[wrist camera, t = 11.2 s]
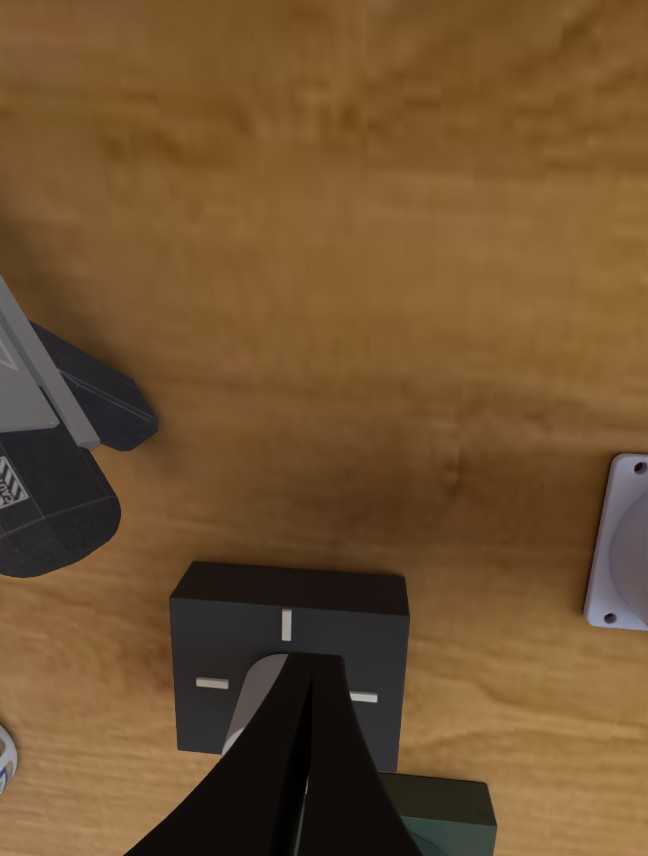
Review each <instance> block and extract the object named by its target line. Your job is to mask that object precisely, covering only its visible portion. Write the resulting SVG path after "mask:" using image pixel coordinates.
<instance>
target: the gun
mask: <svg viewBox="0 0 648 856" xmlns="http://www.w3.org/2000/svg"><path fill="white" fill-rule="evenodd" d="M156 432H158V419H157V418H156V416H155V414H154V413H153V411H152V410H151V408H150V406H149V405H148V403H147V401H146V400H145V398H144V397H143V395H142V393H141V392H140V390H139V388H138V387H137V385H136V384H135V382H134V380H133V379H131V378H129V377H127V376H126V375H124V374H122V373H120V372H119V371H117V370H115V369H113V368H112V367H110V366H108V365H107V364H105V363H103V362H101V361H100V360H98V359H96V358H94V357H93V356H91V355H89V354H87V353H86V352H84V351H82V350H81V349H79V348H77V347H75V346H74V345H72V344H70V343H69V342H67V341H65V340H63V339H62V338H60V337H58V336H57V335H55V334H53V333H52V332H50V331H48V330H46V329H45V328H43V327H41V326H39V325H38V324H36V323H34V322H32V321H30V320H29V319H27V318H26V316H25V315H24V313H23V311H22V310H21V308H20V307H19V305H18V303H17V302H16V300H15V298H14V297H13V295H12V293H11V292H10V290H9V288H8V287H7V285H6V283H5V282H4V280H3V278H2V277H1V275H0V574H3V575H6V576H11V577H18V578H28V577H35V576H40V575H43V574H46V573H49V572H51V571H54V570H57V569H60V568H62V567H65V566H68V565H71V564H73V563H76V562H78V561H80V560H82V559H83V558H85V557H86V556H88V555H89V554H90V553H92V552H93V551H95V550H96V549H98V548H99V547H100V546H102V545H103V544H105V543H106V542H107V541H109V540H110V539H111V538H112V537H113V535H114V534H115V533H116V531H117V529H118V526H119V523H120V518H121V507H120V503H119V500H118V498H117V496H116V494H115V492H114V491H113V489H112V487H111V486H110V484H109V482H108V481H107V479H106V477H105V476H104V474H103V472H102V471H101V469H100V468H99V466H98V464H97V463H96V461H95V459H94V458H93V456H92V454H91V453H90V452H91V451H92V450H93V449H95V448H96V447H98V446H99V445H100V443H101V444H104V445H106V446H108V447H111V448H113V449H116V450H118V451H131V450H132V449H134V448H135V447H137V446H138V445H139V444H141V443H142V442H144V441H145V440H146V439H148V438H149V437H151V436H152V435H153V434H155V433H156Z"/></svg>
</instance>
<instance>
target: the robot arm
mask: <svg viewBox="0 0 648 856" xmlns="http://www.w3.org/2000/svg"><path fill="white" fill-rule="evenodd" d="M640 462H642V464H643V466H642V468H641V469H640V470H638V471H634V467H635V465H636V464H638V463H640ZM610 613H612V615H611V616H610V617H609V618H604V617H605V615H607V614H610ZM583 615H584V617H585V619H586V621H587V622H588V623H589V624H590V625H591V626H595V627H606V628H618V629H631V630H644V631H648V454H629V453H625V454H620V455H618V456H616V457H615V458H614V459H613V461H612V464H611V468H610V473H609V479H608V484H607V489H606V495H605V500H604V505H603V510H602V516H601V521H600V526H599V532H598V537H597V542H596V548H595V553H594V558H593V564H592V569H591V574H590V579H589V585H588V590H587V595H586V601H585V606H584V611H583ZM307 782H308V785H307ZM306 788H307V792H306ZM305 793H306V799H305V807H304V814H303V821H302V828H301V835H300V842H299V848H298V855H297V856H423V854H422V852H421V851H420V849H419V847H418V846H417V844H416V842H415V841H414V839H413V837H412V836H411V834H410V832H409V831H408V829H407V827H406V826H405V824H404V822H403V820H402V819H401V817H400V815H399V813H398V811H397V809H396V807H395V805H394V803H393V802H392V800H391V798H390V796H389V794H388V792H387V790H386V788H385V786H384V783H383V781H382V779H381V777H380V775H379V773H378V771H377V768H376V766H375V764H374V761H373V759H372V757H371V754H370V752H369V749H368V747H367V744H366V742H365V739H364V736H363V733H362V731H361V728H360V725H359V722H358V719H357V716H356V713H355V710H354V706H353V703H352V699H351V696H350V691H349V687H348V683H347V678H346V671H345V659H344V658H343V657H342V656H341V655H333V654H319V653H304V652H291V653H290V654H289V655H288V656H287V658H286V660H285V662H284V665H283V667H282V669H281V671H280V673H279V674H278V676H277V678H276V680H275V682H274V683H273V685H272V687H271V689H270V690H269V692H268V694H267V695H266V697H265V698H264V700H263V701H262V703H261V705H260V706H259V708H258V709H257V711H256V712H255V714H254V715H253V717H252V718H251V720H250V721H249V723H248V724H247V725H246V727H245V728H244V729H243V731H242V732H241V734H240V735H239V736H238V738H237V739H236V740H235V742H234V743H233V744H232V746H231V747H230V748H229V750H228V751H227V752H226V753H225V755H224V756H223V757H222V758H221V759H220V761H219V762H218V763H217V764H216V765H215V767H214V768H213V769H212V770H211V771H210V772H209V774H208V775H207V776H206V777H205V778H204V779H203V780H202V781H201V782H200V784H199V785H198V786H197V787H196V788H195V789H194V790H193V791H192V792H191V793H190V794H189V795H188V796H187V797H186V798H185V799H184V800H183V801H182V803H180V804H179V805H178V806H177V807H176V808H175V809H174V810H173V811H172V812H171V813H170V814H169V815H168V816H167V817H166V818H165V819H164V820H163V821H162V822H161V823H159V824H158V825H157V826H156V827H155V828H154V829H153V830H152V831H151V832H149V833H148V834H147V835H146V836H145V837H144V838H143V839H142V840H141V841H139V842H138V843H137V844H136V845H135V846H134V847H133V848H132V849H130V850H129V851H128V852H127V853H126V854H124V855H123V856H294V852H295V846H296V841H297V836H298V830H299V825H300V820H301V814H302V809H303V804H304V798H305Z"/></svg>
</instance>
